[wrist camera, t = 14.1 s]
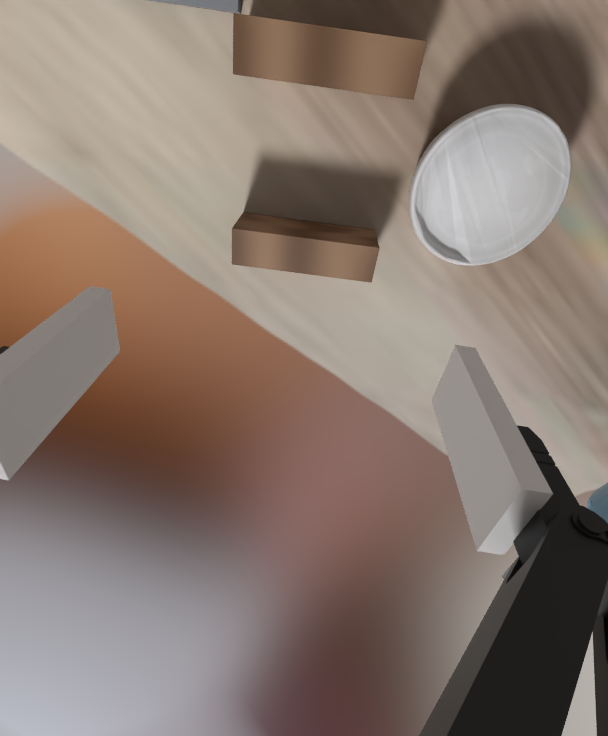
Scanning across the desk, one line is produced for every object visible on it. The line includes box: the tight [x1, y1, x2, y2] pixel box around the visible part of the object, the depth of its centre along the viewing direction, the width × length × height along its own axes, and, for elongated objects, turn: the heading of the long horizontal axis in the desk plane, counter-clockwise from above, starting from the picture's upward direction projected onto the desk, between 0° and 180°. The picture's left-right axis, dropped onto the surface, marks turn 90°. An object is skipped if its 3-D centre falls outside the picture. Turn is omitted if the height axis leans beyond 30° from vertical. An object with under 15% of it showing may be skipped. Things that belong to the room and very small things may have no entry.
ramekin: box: [409, 104, 571, 265], centre depth 31 cm, size 11×11×5 cm
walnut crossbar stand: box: [232, 13, 427, 282], centre depth 31 cm, size 12×16×5 cm
